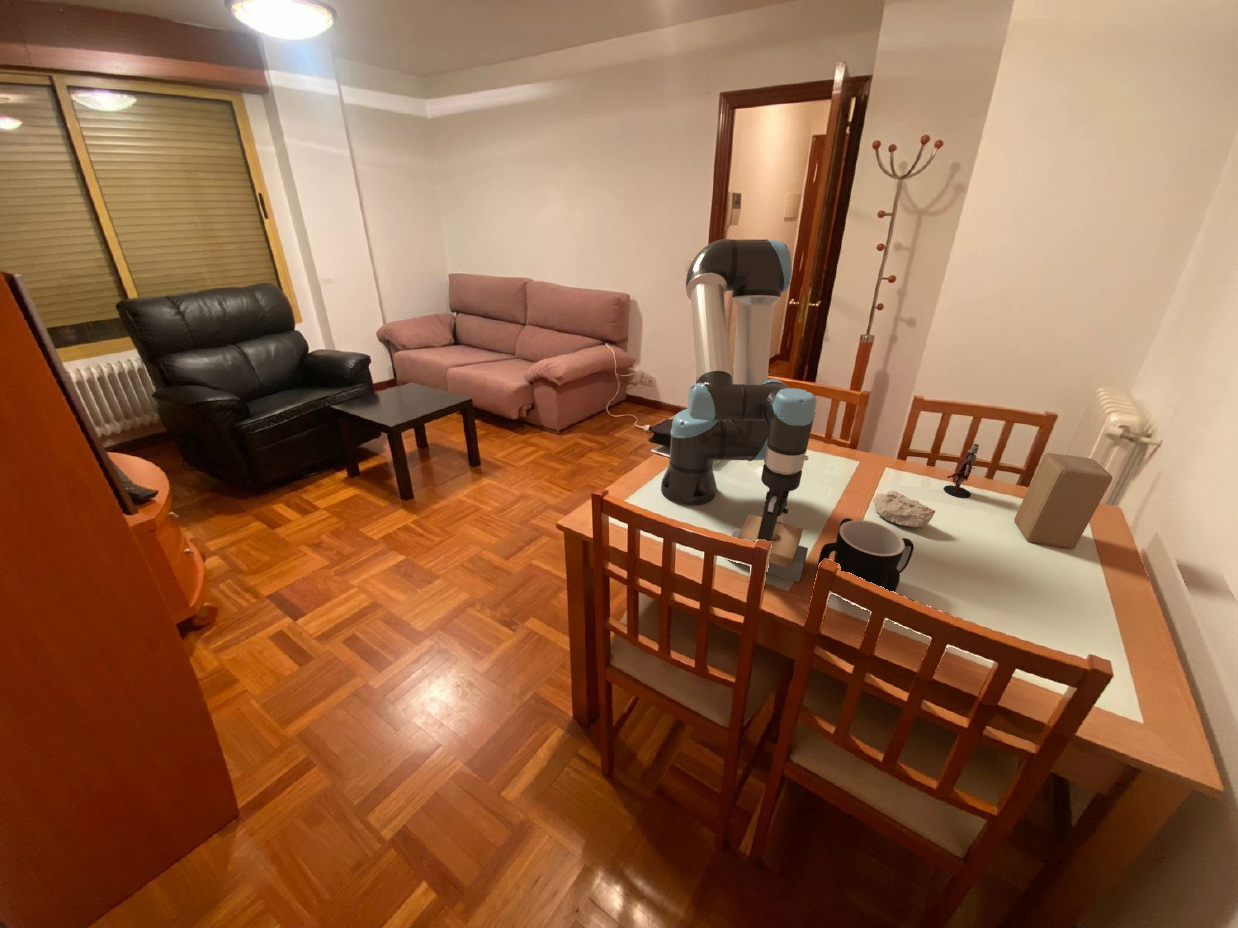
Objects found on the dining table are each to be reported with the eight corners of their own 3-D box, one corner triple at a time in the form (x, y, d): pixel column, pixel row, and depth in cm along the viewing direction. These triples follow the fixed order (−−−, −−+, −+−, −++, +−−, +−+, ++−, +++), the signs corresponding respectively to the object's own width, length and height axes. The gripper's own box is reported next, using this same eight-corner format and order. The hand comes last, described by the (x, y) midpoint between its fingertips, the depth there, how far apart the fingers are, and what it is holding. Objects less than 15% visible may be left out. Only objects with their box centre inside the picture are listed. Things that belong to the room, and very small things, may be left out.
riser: (725, 559, 112) (728, 541, 110) (733, 544, 117) (736, 527, 115) (799, 582, 106) (803, 563, 103) (803, 566, 110) (808, 548, 108)
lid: (733, 551, 107) (735, 537, 105) (747, 522, 116) (750, 510, 115) (790, 568, 102) (793, 555, 100) (801, 537, 111) (804, 524, 110)
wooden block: (1058, 528, 125) (1094, 457, 116) (1075, 551, 117) (1116, 477, 107) (1011, 520, 128) (1043, 450, 119) (1025, 542, 120) (1061, 469, 110)
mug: (837, 549, 116) (849, 505, 111) (910, 582, 106) (928, 537, 101) (803, 581, 106) (815, 535, 100) (881, 622, 96) (898, 574, 90)
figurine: (971, 500, 136) (991, 451, 129) (940, 493, 139) (958, 445, 132) (970, 490, 141) (989, 442, 134) (940, 483, 144) (958, 436, 137)
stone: (898, 542, 125) (930, 522, 117) (863, 503, 130) (891, 481, 122) (912, 532, 129) (943, 512, 122) (877, 495, 134) (905, 473, 127)
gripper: (790, 499, 89) (771, 591, 99) (812, 447, 108) (794, 528, 118) (748, 488, 92) (734, 579, 102) (777, 439, 111) (762, 520, 121)
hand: (766, 552), depth 110 cm, fingers closed on lid, 12 cm apart
